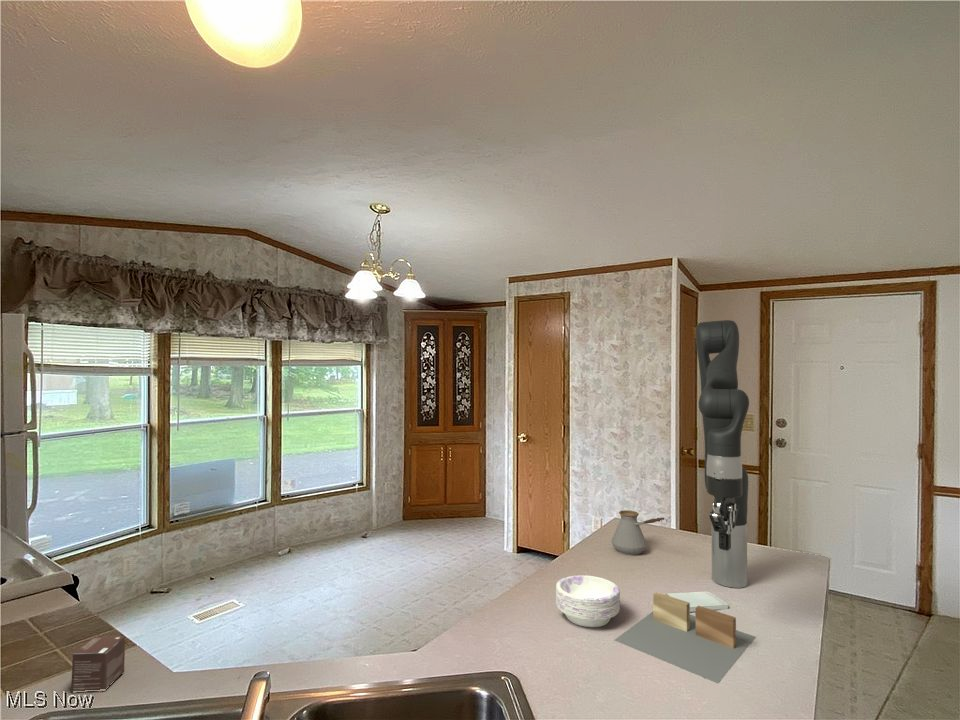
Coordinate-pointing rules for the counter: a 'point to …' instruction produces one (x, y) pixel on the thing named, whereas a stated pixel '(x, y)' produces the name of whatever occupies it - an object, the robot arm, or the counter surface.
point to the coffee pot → (630, 533)
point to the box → (98, 663)
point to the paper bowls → (588, 600)
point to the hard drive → (701, 600)
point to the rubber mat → (685, 647)
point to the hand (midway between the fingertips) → (724, 549)
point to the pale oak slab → (671, 611)
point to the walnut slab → (715, 626)
